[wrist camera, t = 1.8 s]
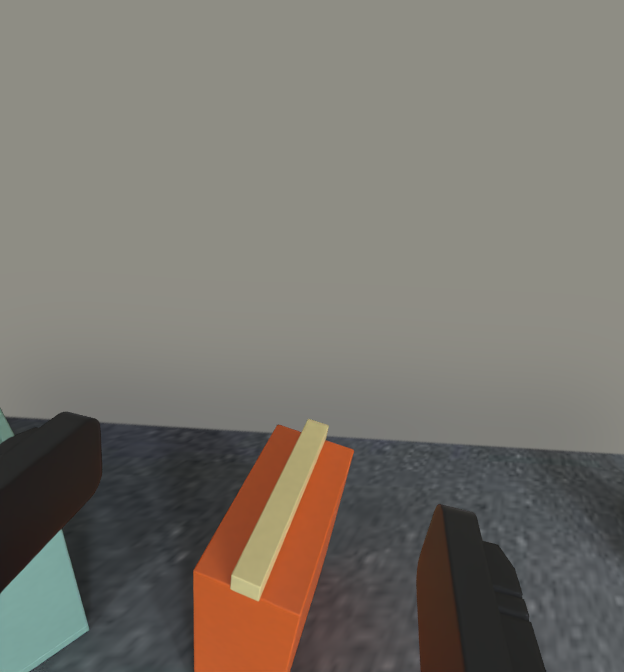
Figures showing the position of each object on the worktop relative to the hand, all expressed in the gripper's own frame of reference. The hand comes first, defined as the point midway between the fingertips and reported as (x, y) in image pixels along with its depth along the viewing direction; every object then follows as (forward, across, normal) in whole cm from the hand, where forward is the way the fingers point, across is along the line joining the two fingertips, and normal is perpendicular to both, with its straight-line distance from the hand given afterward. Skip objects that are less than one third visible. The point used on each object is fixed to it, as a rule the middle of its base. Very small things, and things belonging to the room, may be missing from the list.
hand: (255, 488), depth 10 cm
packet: (+10, 0, +18) cm, 21 cm away
